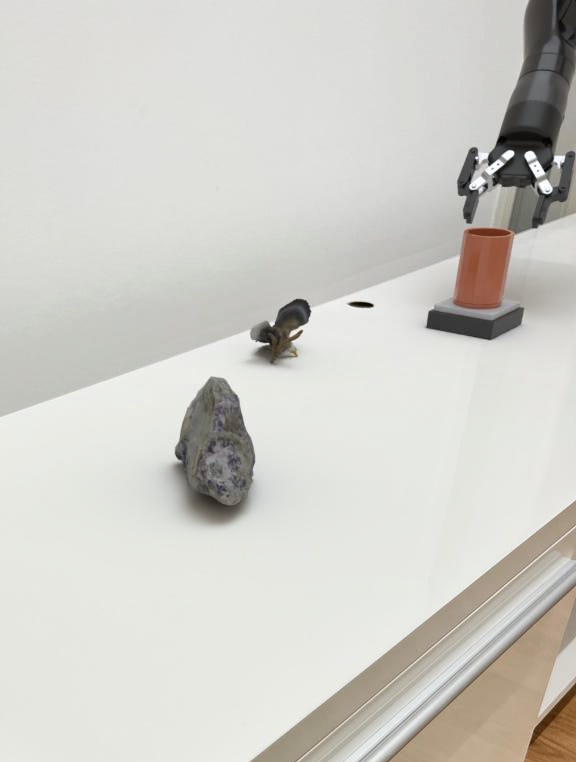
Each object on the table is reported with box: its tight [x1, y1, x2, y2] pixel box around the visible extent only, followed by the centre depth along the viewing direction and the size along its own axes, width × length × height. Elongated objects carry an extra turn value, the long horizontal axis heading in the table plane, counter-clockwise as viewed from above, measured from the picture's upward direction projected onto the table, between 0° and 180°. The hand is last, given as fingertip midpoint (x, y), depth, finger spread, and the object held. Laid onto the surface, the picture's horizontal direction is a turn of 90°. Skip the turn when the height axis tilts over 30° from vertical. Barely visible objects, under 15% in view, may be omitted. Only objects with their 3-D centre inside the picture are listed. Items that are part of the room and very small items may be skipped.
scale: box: [425, 296, 525, 340], centre depth 138 cm, size 9×9×3 cm
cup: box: [452, 226, 516, 309], centre depth 135 cm, size 6×6×9 cm
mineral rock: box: [174, 375, 256, 506], centre depth 94 cm, size 13×11×10 cm
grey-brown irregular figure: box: [249, 298, 312, 364], centre depth 129 cm, size 8×7×9 cm
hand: (501, 222), depth 138 cm, fingers open, 8 cm apart
